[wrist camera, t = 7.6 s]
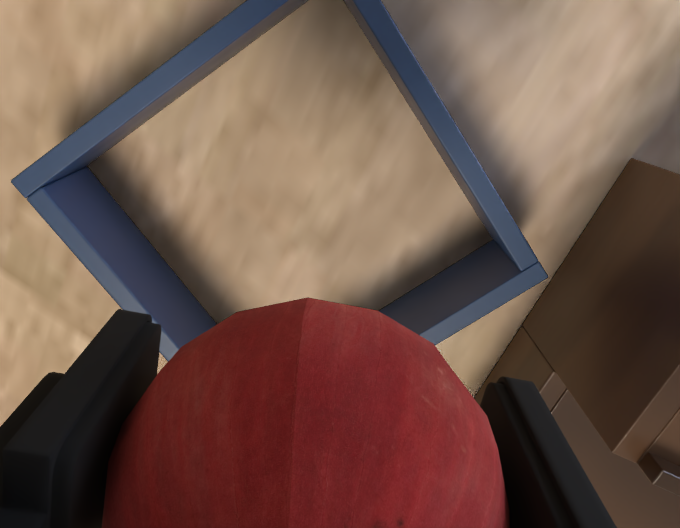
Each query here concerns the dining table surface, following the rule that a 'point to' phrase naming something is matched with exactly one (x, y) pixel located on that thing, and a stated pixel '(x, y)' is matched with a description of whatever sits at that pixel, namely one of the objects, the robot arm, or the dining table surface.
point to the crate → (159, 279)
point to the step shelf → (615, 349)
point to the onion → (306, 431)
